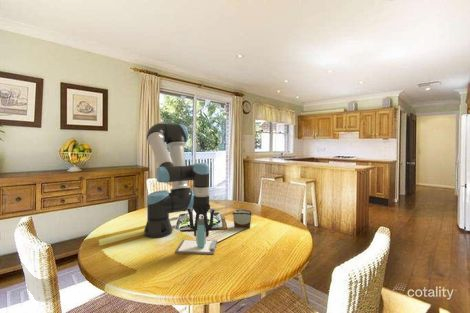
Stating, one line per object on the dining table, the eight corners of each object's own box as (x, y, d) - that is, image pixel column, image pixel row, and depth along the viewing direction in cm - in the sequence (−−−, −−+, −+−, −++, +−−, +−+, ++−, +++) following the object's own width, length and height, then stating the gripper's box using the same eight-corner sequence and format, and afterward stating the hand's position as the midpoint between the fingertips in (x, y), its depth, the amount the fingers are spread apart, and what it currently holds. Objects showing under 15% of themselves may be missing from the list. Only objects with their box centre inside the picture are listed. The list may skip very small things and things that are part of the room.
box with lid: (197, 247, 114) (197, 220, 114) (198, 244, 118) (198, 218, 117) (204, 247, 114) (204, 221, 113) (205, 244, 118) (205, 218, 117)
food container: (252, 225, 149) (252, 209, 149) (252, 228, 143) (252, 212, 142) (233, 224, 150) (233, 208, 150) (231, 227, 144) (232, 211, 144)
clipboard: (175, 253, 111) (175, 250, 111) (183, 240, 125) (183, 237, 125) (213, 254, 110) (213, 251, 110) (217, 241, 124) (217, 238, 124)
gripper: (182, 196, 111) (182, 245, 113) (217, 197, 110) (216, 246, 112) (186, 193, 119) (187, 239, 120) (219, 193, 118) (219, 240, 119)
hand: (201, 242), depth 116 cm, fingers closed on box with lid, 3 cm apart
